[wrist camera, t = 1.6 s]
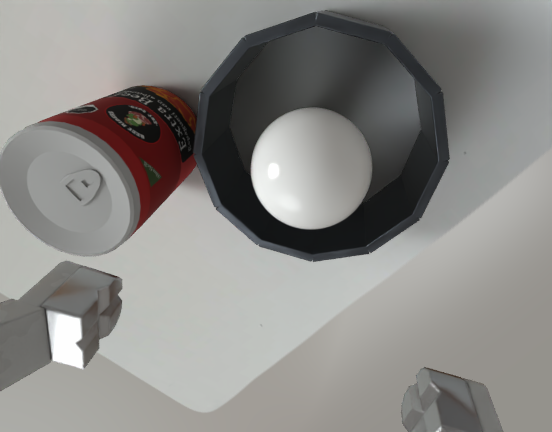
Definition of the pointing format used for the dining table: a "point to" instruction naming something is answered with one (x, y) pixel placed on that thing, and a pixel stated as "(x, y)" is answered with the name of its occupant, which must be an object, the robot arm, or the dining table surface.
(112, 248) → the canned food
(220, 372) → the dining table surface
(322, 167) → the lightbulb
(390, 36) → the dark grey polygonal container
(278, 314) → the dining table surface
